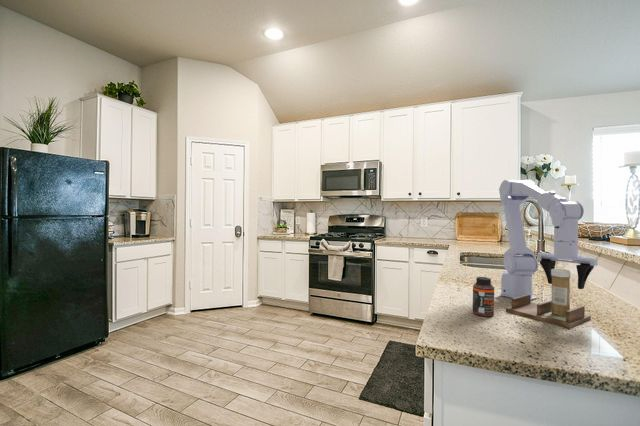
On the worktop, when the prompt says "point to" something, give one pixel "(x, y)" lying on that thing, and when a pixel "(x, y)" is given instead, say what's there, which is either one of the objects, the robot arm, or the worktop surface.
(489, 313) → the supplement bottle
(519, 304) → the slot rack
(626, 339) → the worktop surface
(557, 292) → the sprinkles bottle
